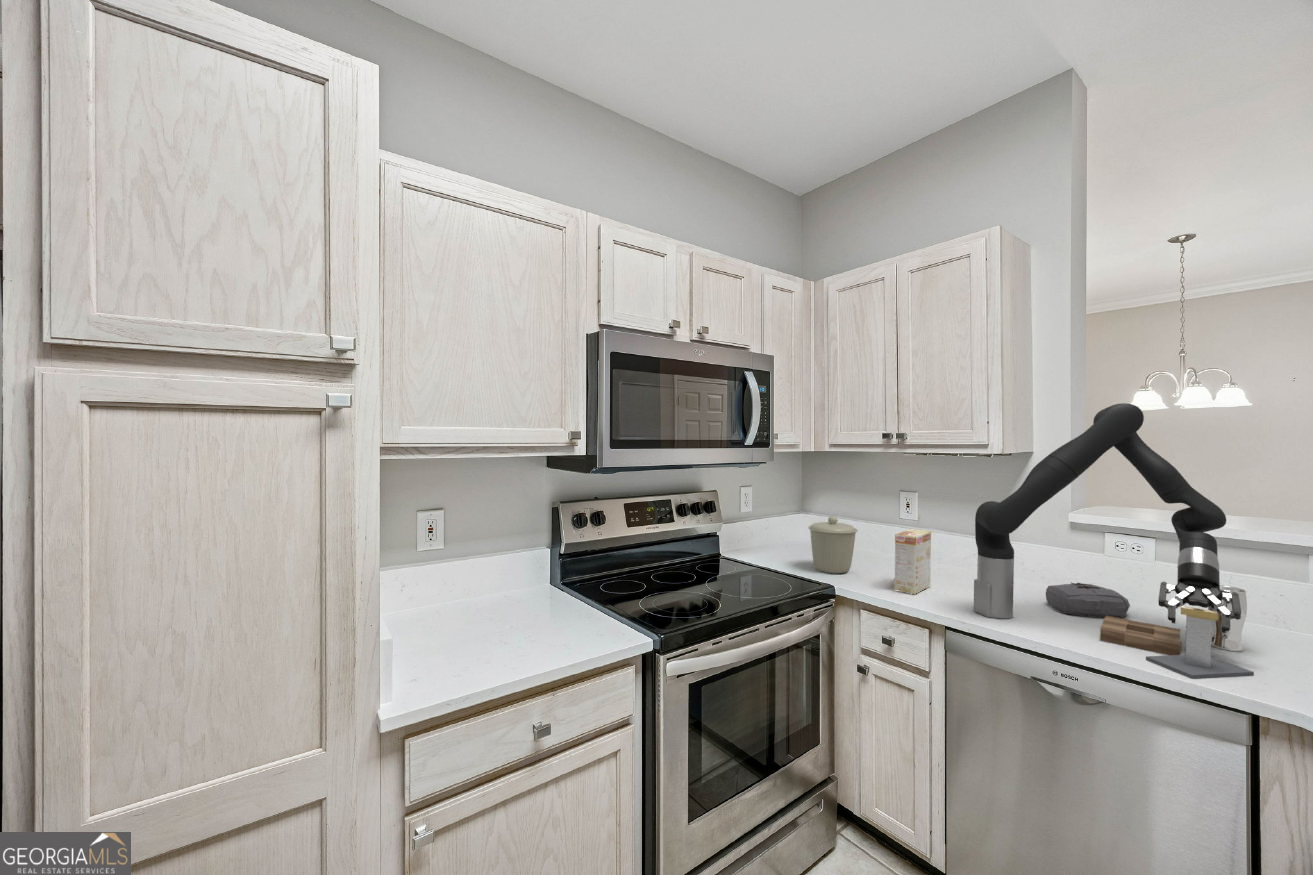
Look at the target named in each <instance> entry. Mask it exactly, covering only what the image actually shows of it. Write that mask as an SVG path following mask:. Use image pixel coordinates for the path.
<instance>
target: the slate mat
mask: <svg viewBox="0 0 1313 875" xmlns="http://www.w3.org/2000/svg"><path fill="white" fill-rule="evenodd" d="M1185 656H1186V654H1180V655H1150V656H1149V655H1148V656H1146V657H1145V661H1148V662H1151V663H1153V664H1156V665H1157V666H1160V667H1163V668H1165V669H1168V670H1171V671H1172V672H1175V673H1177V674H1180V675H1182V676H1185V677H1187V678H1189V679H1193V680H1195V679H1210V678H1211V679H1212V678H1231V677H1250V676H1252V677H1253V676H1254V675H1255V673H1254V671H1252V670H1249V669H1248V668H1245V667H1241V666H1238V665H1236V664H1233V663H1230V662H1228V661H1225V660H1222V659H1219V658H1217V657H1214V656H1211V664H1210V669H1208V668H1203V667H1199V666H1194V665H1190V664H1186V659H1185Z"/></svg>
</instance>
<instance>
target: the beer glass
mask: <svg viewBox="0 0 1313 875" xmlns="http://www.w3.org/2000/svg"><path fill="white" fill-rule="evenodd" d="M1220 591H1221V592H1222V593H1228V594H1231V593H1232V592H1236V593H1238V594H1239V599H1240V606H1241V619H1239V620H1237V619H1230V630H1229V631H1226V633H1223V632H1221V616H1220V615H1219V614H1218V620H1212V619H1211V621H1212V622H1211V647H1213V648H1216V649H1220V650H1224V651H1229V652H1236V653H1239V652H1243V651H1244V645H1243V640H1242V632H1243V628H1244V624H1245V621H1246V618H1247V612H1248V611H1247V610H1248V602H1247V601H1248V600H1247V591H1246V589H1242V588H1239V587H1235V586H1230V585H1223V584H1220ZM1220 602H1221V603H1222V604H1223V606H1224V607H1225V608H1226V609H1228V610H1229V611H1232V604H1230V603H1228V602H1227V600H1226V599H1224V598H1222V599H1221V600H1220ZM1207 610H1209V611H1213V610H1212V609H1211V608H1210V607H1207Z"/></svg>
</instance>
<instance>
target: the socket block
mask: <svg viewBox="0 0 1313 875" xmlns="http://www.w3.org/2000/svg"><path fill="white" fill-rule="evenodd" d="M1099 632H1100V636H1099V637H1100V640H1099V641H1100V642H1101V641H1102V642H1107V643H1110V642H1111V644H1116V645H1120V646H1124V645H1126V646H1125V647H1129V648H1134V647H1135V648H1134V649H1139V650H1143V649H1144V651H1149V652H1152V651H1153V653H1156V654H1157V653H1158V654H1163V655H1166V654H1167V655H1181V629H1180V628H1174V627H1169V626H1164V625H1158V624H1153V623H1150V622H1149V623H1148V622H1143V621H1139V620H1134V619H1133V620H1132V619H1127V618H1123V617H1112V616H1106V617H1104V620H1103V622H1102V624H1101V627H1100V631H1099ZM1167 655H1166V656H1167Z"/></svg>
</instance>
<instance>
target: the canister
mask: <svg viewBox="0 0 1313 875" xmlns="http://www.w3.org/2000/svg"><path fill="white" fill-rule="evenodd" d="M838 520H839V519H838V518H837V517H836V516H834V515H833V516H831V515H830V516H828V518H827V521H818V522H815V523H812V524H811V525H809V526H808V529H809V532H810V543H811V552H812V561H813V565H814V567H815V569H816V570H818V571H820V572H822V573H828V574H845V573H847V572H849V570H850V569H851V568H852V564H853V563H852V562H853V556H854V549H855V540H856V534H857V533H858V530H859V529H857V528H856V527H854V526H853V525H851V524H847V523H844V522H838Z"/></svg>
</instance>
